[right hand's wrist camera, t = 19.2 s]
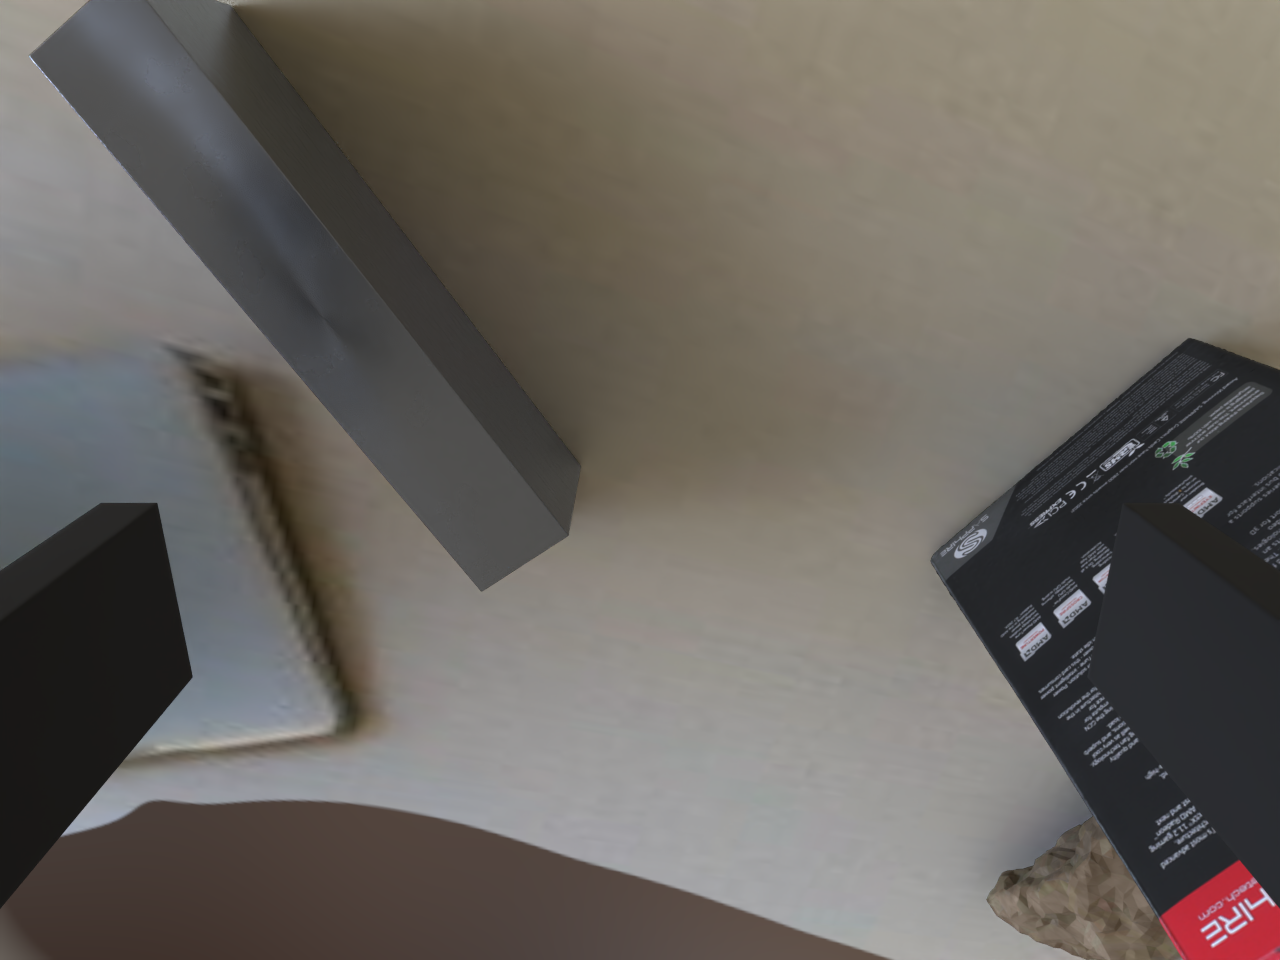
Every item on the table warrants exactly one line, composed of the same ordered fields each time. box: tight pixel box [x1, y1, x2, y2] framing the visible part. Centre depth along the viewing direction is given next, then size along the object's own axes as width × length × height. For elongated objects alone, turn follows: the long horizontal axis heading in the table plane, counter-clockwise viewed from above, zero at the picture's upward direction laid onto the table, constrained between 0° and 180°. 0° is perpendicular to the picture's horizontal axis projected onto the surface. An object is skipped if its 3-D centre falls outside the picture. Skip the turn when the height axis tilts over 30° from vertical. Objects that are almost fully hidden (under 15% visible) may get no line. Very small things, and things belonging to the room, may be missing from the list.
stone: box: [987, 816, 1183, 960], centre depth 52 cm, size 21×15×6 cm
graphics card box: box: [931, 338, 1280, 960], centre depth 34 cm, size 17×7×27 cm, turn 138°
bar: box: [29, 0, 581, 591], centre depth 39 cm, size 26×5×9 cm, turn 35°
